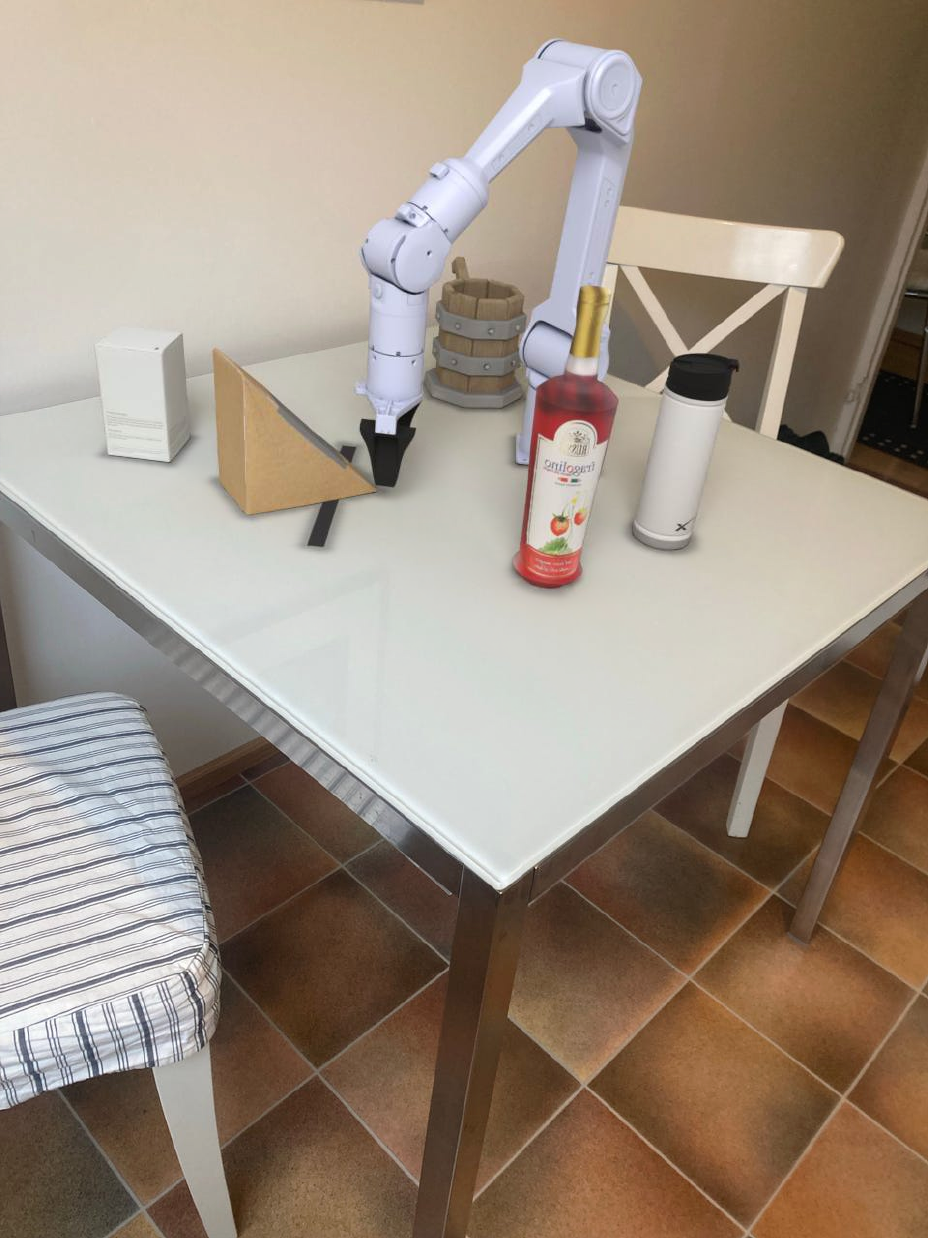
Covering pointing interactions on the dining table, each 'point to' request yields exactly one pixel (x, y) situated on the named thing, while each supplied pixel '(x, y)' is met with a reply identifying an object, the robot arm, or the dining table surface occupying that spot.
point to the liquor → (567, 453)
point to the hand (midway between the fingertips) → (389, 469)
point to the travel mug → (682, 448)
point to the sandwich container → (273, 449)
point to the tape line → (327, 510)
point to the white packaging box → (143, 392)
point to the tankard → (477, 342)
